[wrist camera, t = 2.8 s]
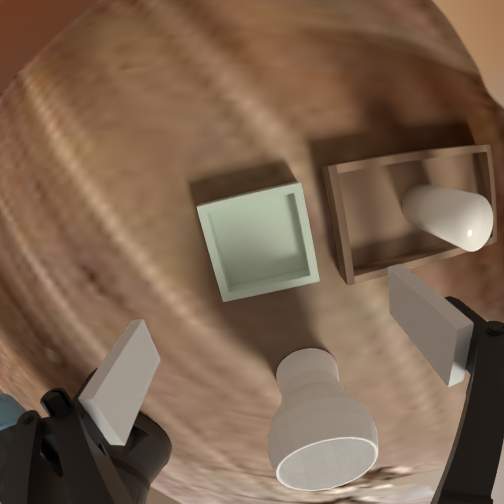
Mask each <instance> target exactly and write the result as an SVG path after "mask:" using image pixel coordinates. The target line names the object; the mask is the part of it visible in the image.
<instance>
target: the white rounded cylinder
mask: <svg viewBox="0 0 504 504" xmlns="http://www.w3.org/2000/svg"><path fill="white" fill-rule="evenodd" d="M402 212H403V215H404V217H405V219H406V220H407V222H408V223H410V224H411V225H413V226H415V227H418V228H420V229H422V230H424V231H426V232H429V233H431V234H433V235H435V236H437V237H439V238H441V239H444V240H446V241H448V242H450V243H452V244H454V245H456V246H458V247H460V248H462V249H464V250H466V251H476V250H478V249H480V248H481V247H482V246H483V245H484V244H485V243H486V242H487V240H488V239H489V237H490V234H491V231H492V227H493V212H492V208H491V206H490V204H489V202H488V200H487V199H486V198H485V197H483V196H481V195H479V194H474V193H469V192H464V191H460V190H455V189H449V188H444V187H439V186H433V185H428V184H422V183H418V184H414V185H412V186H410V187H409V188H408V189H407V191H406V192H405V194H404V196H403V199H402Z"/></svg>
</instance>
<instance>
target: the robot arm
mask: <svg viewBox="0 0 504 504" xmlns="http://www.w3.org/2000/svg"><path fill="white" fill-rule="evenodd" d="M387 268H388V283H389V303H390V314H391V315H392V316H393V318H394V319H395V320H396V321H397V322H398V324H399V325H400V326H401V327H402V329H403V330H404V331H405V332H406V333H407V335H408V336H409V337H410V338H411V340H412V341H413V342H414V343H415V345H416V346H417V347H418V349H419V350H420V351H421V352H422V354H423V355H424V356H425V357H426V359H427V360H428V361H429V363H430V364H431V365H432V367H433V368H434V369H435V370H436V372H437V373H438V374H439V376H440V377H441V378H442V380H443V381H444V382H445V384H446V385H447V386H448V387H450V386H452V385H454V384H457V383H459V382H461V381H463V379H464V375H465V370H467V371H468V372H469V373H470V374H471V376H470V380H469V384H468V388H467V391H466V399H465V403H464V407H463V411H462V415H461V419H460V423H459V426H458V430H457V433H456V437H455V440H454V443H453V446H452V449H451V452H450V455H449V458H448V461H447V464H446V467H445V469H444V472H443V475H442V477H441V480H440V482H439V485H438V487H437V490H436V492H435V494H434V497H433V499H432V501H431V503H430V504H493V499H491V492H492V489H493V485H494V481H495V477H496V473H497V469H498V464H499V460H500V455H501V450H502V445H503V439H504V323H502V322H499V321H488V322H486V321H485V320H484V319H483V318H482V317H480V316H479V315H478V314H477V313H475V312H474V311H473V310H471V309H470V308H469V307H468V306H467V305H466V306H465V304H464V303H463V302H461V301H460V300H459V299H456V298H454V297H451V296H448V297H445V298H443V297H442V296H441V295H440V294H438V293H437V292H436V291H435V290H434V289H432V288H431V287H430V286H428V285H427V284H426V283H425V282H423V281H422V280H421V279H420V278H418V277H417V276H416V275H414V274H413V273H412V272H410V271H409V270H408V269H407V268H405V267H404V266H403V265H401V264H397V265H393V266H389V267H387ZM160 360H161V359H160V357H159V355H158V352H157V350H156V348H155V346H154V343H153V341H152V339H151V336H150V334H149V331H148V329H147V327H146V324H145V322H144V319H138V320H132V321H131V322H130V323H129V325H128V326H127V327H126V329H125V330H124V332H123V333H122V334H121V336H120V337H119V339H118V340H117V342H116V343H115V344H114V346H113V347H112V349H111V350H110V352H109V353H108V355H107V356H106V357H105V359H104V360H103V362H102V363H101V365H100V366H99V368H97V369H95V370H94V371H93V372H92V373H91V374H90V375H89V376H88V378H87V379H86V382H84V384H83V385H82V387H81V388H80V390H79V391H78V393H77V394H76V396H75V397H74V399H73V400H72V401H71V399H70V398H69V396H68V395H67V393H66V391H65V390H64V389H63V388H55V389H52V390H50V391H48V392H47V393H46V394H45V395H43V397H42V398H41V402H40V403H41V405H42V406H43V408H44V409H45V410H46V412H47V413H48V415H49V416H50V417H46V418H41V416H40V415H39V414H38V412H37V411H35V410H29V411H27V410H26V409H25V408H23V407H22V406H21V405H20V404H19V403H18V402H17V401H16V400H15V399H14V398H13V397H12V396H10V395H8V394H0V504H146V500H147V496H148V492H149V489H150V485H151V483H152V482H153V480H154V479H155V478H156V477H157V475H158V474H159V473H160V471H161V470H162V468H163V467H164V466H165V465H166V464H167V463H168V461H169V458H170V454H171V450H172V445H171V442H170V439H169V437H168V436H167V434H166V433H165V432H164V431H163V430H162V429H161V428H160V427H159V426H158V425H157V424H155V423H154V422H153V421H151V420H150V419H148V418H147V417H145V416H143V415H141V414H139V413H138V412H139V409H140V407H141V405H142V402H143V400H144V397H145V395H146V393H147V390H148V388H149V386H150V383H151V381H152V379H153V376H154V374H155V372H156V369H157V367H158V365H159V362H160Z"/></svg>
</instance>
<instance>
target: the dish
mask: <svg viewBox="0 0 504 504" xmlns="http://www.w3.org/2000/svg"><path fill="white" fill-rule="evenodd" d="M197 211H198V214H199V218H200V222H201V225H202V229H203V233H204V236H205V240H206V244H207V247H208V251H209V255H210V258H211V262H212V265H213V269H214V272H215V276H216V279H217V283H218V286H219V289H220V293H221V296H222V300H223V302H227V301H232V300H236V299H241V298H246V297H251V296H256V295H260V294H265V293H270V292H274V291H279V290H283V289H288V288H292V287H297V286H301V285H305V284H310V283H314V282H318V281H319V275H318V269H317V263H316V257H315V252H314V246H313V241H312V235H311V230H310V225H309V220H308V215H307V210H306V205H305V200H304V195H303V190H302V185H301V182H298V181H295V182H291V183H286V184H281V185H277V186H272V187H268V188H263V189H259V190H254V191H250V192H246V193H242V194H237V195H233V196H229V197H225V198H221V199H217V200H213V201H209V202H205V203H201V204H200V205H198V206H197Z"/></svg>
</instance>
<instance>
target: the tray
mask: <svg viewBox="0 0 504 504" xmlns="http://www.w3.org/2000/svg"><path fill="white" fill-rule="evenodd" d="M321 168H322V173H323V178H324V183H325V188H326V193H327V198H328V204H329V209H330V215H331V220H332V226H333V232H334V238H335V244H336V251H337V257H338V264H339V271H340V276H341V277H342V279H343V280H344V281H345V283H346V284H347V285H351V284H355V283H359V282H363V281H367V280H371V279H375V278H378V277H382V276H386V275H388V268H387V267H389V266H393V265H397V264H401V265H403V266H404V267H405V268H407V269H411V268H415V267H418V266H422V265H425V264H429V263H432V262H435V261H439V260H442V259H445V258H449V257H452V256H455V255H458V254H462V253H465V252H468V251H466V250H464V249H462V248H460V247H458V246H456V245H454V244H452V243H450V242H448V241H446V240H444V239H441V238H439V237H437V236H435V235H433V234H431V233H429V232H426V231H424V230H422V229H420V228H418V227H415V226H413V225H411V224H410V223H408V222H407V220H406V219H405V217H404V215H403V212H402V199H403V196H404V194H405V192H406V191H407V189H408V188H409V187H410V186H412V185H414V184H418V183H422V184H428V185H433V186H439V187H444V188H449V189H455V190H460V191H464V192H469V193H474V194H479V195H481V196H483V197H485V198H486V199H487V200H488V202H489V204H490V206H491V208H492V212H493V227H492V231H491V234H490V237H489V239H488V240H487V242H486V243H485V244H484V245H483V246H486V245H490V244H493V243H496V242H497V219H496V196H495V182H494V172H493V163H492V155H491V148H490V144H475V145H464V146H454V147H444V148H435V149H427V150H419V151H412V152H404V153H397V154H390V155H383V156H377V157H371V158H364V159H358V160H353V161H347V162H341V163H336V164H330V165H325V166H321ZM483 246H482V247H483Z"/></svg>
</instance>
